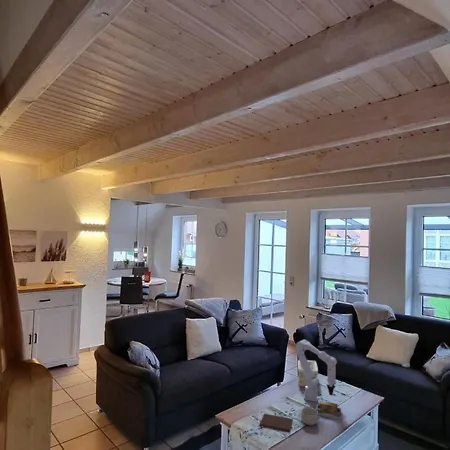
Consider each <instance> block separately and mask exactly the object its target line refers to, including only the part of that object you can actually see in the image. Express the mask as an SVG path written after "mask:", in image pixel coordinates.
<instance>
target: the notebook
mask: <svg viewBox="0 0 450 450" xmlns="http://www.w3.org/2000/svg"><path fill="white" fill-rule="evenodd" d="M293 419H294V418H290V417H285V416H280V415H274V414H269V413H263V415H262V417H261V420H260V422H259V427H262V426H263V427H262V428H267V427H268V428H267V429H272V428H273V429H272V430H277V429H278V431H282V432H287V433H291V427H292V423H293V421H294V420H293Z"/></svg>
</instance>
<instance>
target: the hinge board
mask: <svg viewBox="0 0 450 450" xmlns="http://www.w3.org/2000/svg"><path fill="white" fill-rule="evenodd" d="M315 409H316V410H317V411H318V416H319V417H326V418H330V419H331V418H332V419H335V420H342V419H343V417H342V416H343V411H342V408H341V407H338V412H334V415H333V414H328V413H323V412H322V409H320V403H317V404H316V406H315Z"/></svg>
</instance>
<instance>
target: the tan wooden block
mask: <svg viewBox="0 0 450 450" xmlns="http://www.w3.org/2000/svg"><path fill="white" fill-rule="evenodd" d="M319 404H320V409H322V412H323V413H328V414H333V415H334V412H338V408H339V406H338V405H339V404H338V403H335V402H330V401H324V400H320V401H319Z"/></svg>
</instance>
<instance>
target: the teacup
mask: <svg viewBox="0 0 450 450" xmlns="http://www.w3.org/2000/svg"><path fill="white" fill-rule="evenodd" d="M300 412H301V419H302V421H303V423H304V424H305V425H307V426H314V425H316V424H317V423H318V420H319V419H318V418H319V415H318V411H317V410H316V408H313V406H309V407H304V408H302V409H301V411H300Z"/></svg>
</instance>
